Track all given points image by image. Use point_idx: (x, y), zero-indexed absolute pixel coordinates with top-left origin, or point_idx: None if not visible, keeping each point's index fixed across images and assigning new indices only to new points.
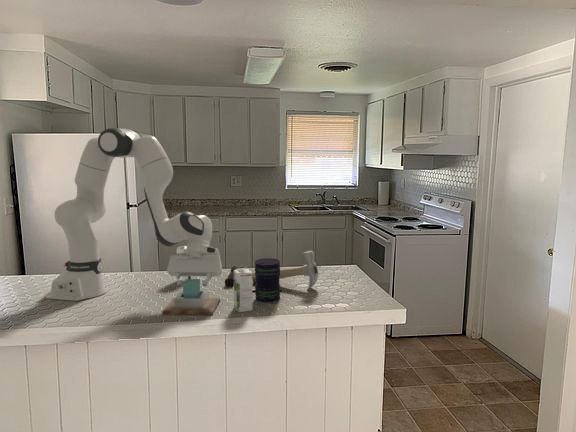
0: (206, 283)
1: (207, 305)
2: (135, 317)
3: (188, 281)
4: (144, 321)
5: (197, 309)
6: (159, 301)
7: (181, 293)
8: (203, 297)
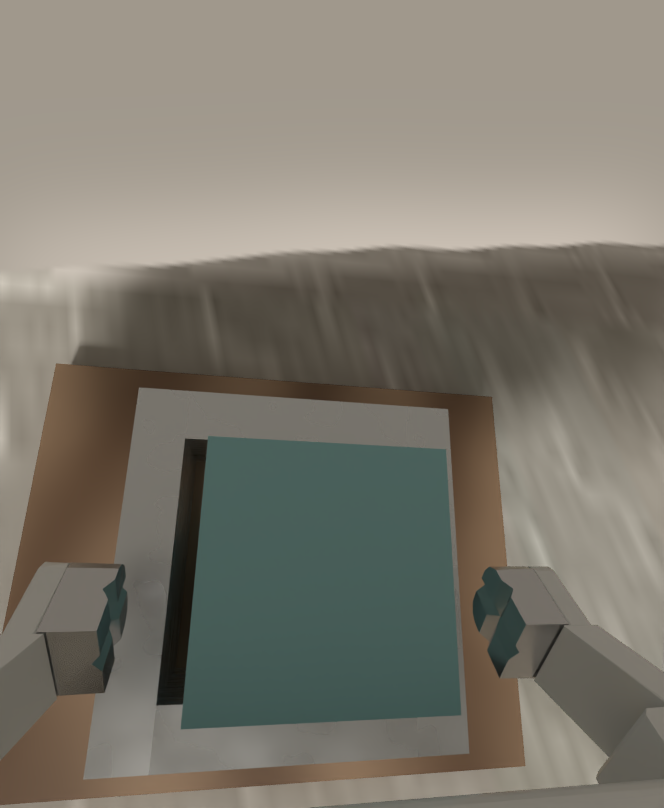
0: (35, 581)
1: None
2: (624, 360)
3: (376, 537)
4: (540, 291)
5: None
6: None
7: None
8: (132, 443)
